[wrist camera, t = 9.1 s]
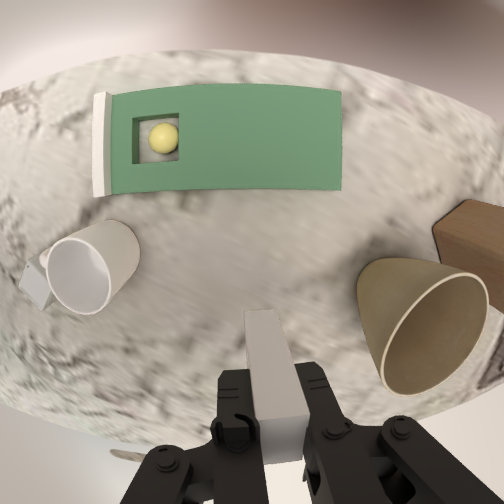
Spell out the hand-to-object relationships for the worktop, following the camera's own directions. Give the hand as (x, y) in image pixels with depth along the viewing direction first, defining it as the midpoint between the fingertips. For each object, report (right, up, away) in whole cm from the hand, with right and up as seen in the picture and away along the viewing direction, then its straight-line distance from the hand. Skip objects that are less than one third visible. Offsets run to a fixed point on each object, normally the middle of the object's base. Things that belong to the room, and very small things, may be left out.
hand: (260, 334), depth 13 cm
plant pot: (+18, -1, +25) cm, 30 cm away
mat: (-4, +17, +18) cm, 25 cm away
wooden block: (+33, +6, +24) cm, 41 cm away
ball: (-10, +17, +15) cm, 25 cm away
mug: (-20, +5, +20) cm, 29 cm away
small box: (-30, +1, +21) cm, 37 cm away
